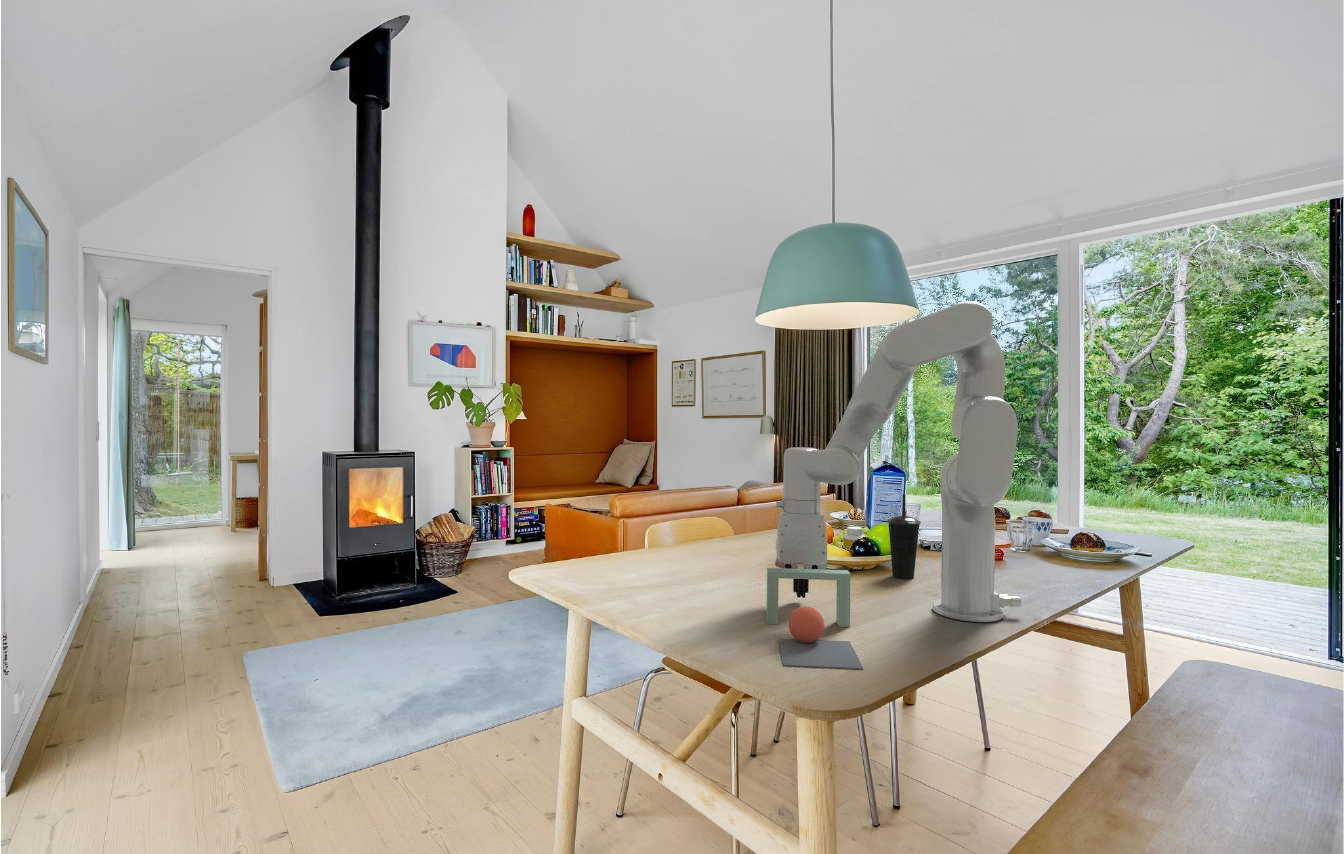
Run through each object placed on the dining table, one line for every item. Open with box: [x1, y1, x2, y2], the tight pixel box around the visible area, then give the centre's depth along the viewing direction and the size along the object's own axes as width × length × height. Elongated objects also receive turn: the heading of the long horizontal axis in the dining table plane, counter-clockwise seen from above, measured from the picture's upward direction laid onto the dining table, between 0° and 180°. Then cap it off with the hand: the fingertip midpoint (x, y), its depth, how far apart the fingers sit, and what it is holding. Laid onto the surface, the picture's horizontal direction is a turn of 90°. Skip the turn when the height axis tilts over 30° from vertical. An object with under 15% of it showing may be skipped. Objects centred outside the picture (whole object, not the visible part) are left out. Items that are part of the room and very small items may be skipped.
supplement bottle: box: [842, 526, 866, 570], centre depth 166 cm, size 6×6×10 cm
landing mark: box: [777, 637, 864, 671], centre depth 104 cm, size 12×12×1 cm
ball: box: [787, 605, 825, 643], centre depth 110 cm, size 6×6×6 cm
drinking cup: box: [886, 493, 922, 580], centre depth 156 cm, size 8×8×20 cm
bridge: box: [766, 567, 851, 628], centre depth 120 cm, size 3×15×10 cm, turn 84°
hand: (800, 595), depth 133 cm, fingers closed
